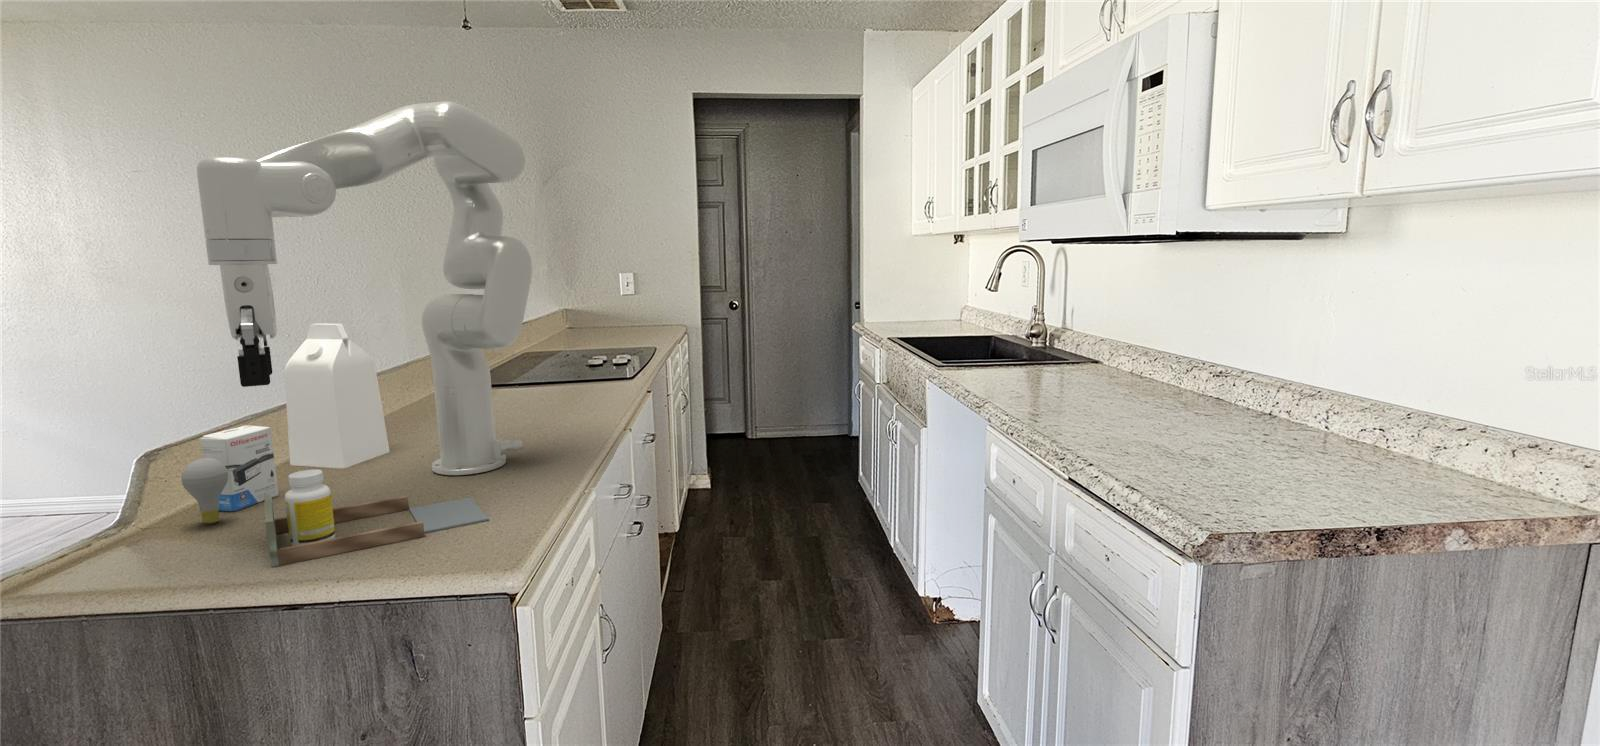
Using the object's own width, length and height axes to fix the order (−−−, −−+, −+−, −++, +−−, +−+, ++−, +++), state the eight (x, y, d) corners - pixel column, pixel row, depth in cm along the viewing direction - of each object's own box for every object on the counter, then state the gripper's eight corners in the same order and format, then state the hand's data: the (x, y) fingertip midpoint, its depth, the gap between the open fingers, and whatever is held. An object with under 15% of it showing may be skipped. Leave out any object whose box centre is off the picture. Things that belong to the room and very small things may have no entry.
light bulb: (205, 532, 113) (195, 465, 111) (179, 528, 115) (169, 461, 113) (243, 519, 118) (234, 455, 116) (218, 515, 120) (209, 452, 118)
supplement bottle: (345, 536, 111) (337, 469, 109) (310, 550, 106) (301, 480, 104) (316, 532, 113) (308, 466, 111) (280, 546, 108) (272, 477, 106)
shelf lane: (408, 508, 122) (404, 470, 121) (424, 536, 110) (420, 495, 109) (269, 533, 112) (264, 492, 111) (271, 567, 100) (265, 522, 99)
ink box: (234, 512, 121) (224, 438, 119) (207, 510, 122) (197, 437, 120) (280, 495, 130) (272, 425, 128) (255, 493, 131) (246, 424, 129)
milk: (389, 452, 156) (376, 321, 151) (344, 468, 145) (328, 327, 140) (338, 449, 158) (324, 320, 154) (290, 465, 147) (272, 326, 143)
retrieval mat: (471, 499, 126) (470, 497, 126) (489, 520, 117) (489, 518, 117) (409, 510, 121) (409, 508, 121) (423, 533, 112) (422, 531, 112)
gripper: (274, 253, 99) (289, 386, 102) (277, 253, 114) (290, 369, 117) (200, 254, 95) (218, 393, 98) (213, 253, 110) (228, 374, 113)
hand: (257, 380), depth 107 cm, fingers open, 9 cm apart
